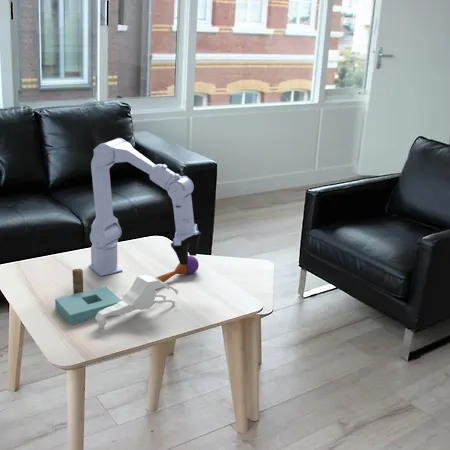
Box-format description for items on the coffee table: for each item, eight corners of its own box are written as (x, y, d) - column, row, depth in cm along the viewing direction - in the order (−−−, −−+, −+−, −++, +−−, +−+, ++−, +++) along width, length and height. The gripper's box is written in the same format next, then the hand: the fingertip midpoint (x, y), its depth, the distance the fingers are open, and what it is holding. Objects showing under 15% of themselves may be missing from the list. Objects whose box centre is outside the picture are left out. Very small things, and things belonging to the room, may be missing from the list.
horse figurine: (154, 327, 194) (88, 324, 175) (171, 277, 193) (106, 269, 174) (164, 334, 191) (98, 331, 172) (181, 283, 189) (117, 275, 171)
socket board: (55, 307, 184) (55, 298, 183) (106, 295, 193) (105, 286, 192) (70, 324, 176) (70, 315, 175) (122, 310, 185) (122, 301, 184)
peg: (71, 293, 193) (70, 269, 190) (81, 291, 195) (80, 267, 192) (75, 297, 191) (74, 273, 188) (85, 295, 193) (84, 271, 190)
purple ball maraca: (143, 274, 200) (188, 252, 213) (147, 291, 202) (190, 268, 215) (156, 277, 196) (200, 254, 210) (159, 294, 198) (203, 271, 211)
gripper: (187, 225, 183) (192, 269, 187) (204, 210, 196) (208, 251, 200) (165, 224, 186) (170, 268, 190) (183, 210, 199) (188, 251, 203)
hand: (188, 259), depth 195 cm, fingers open, 7 cm apart
